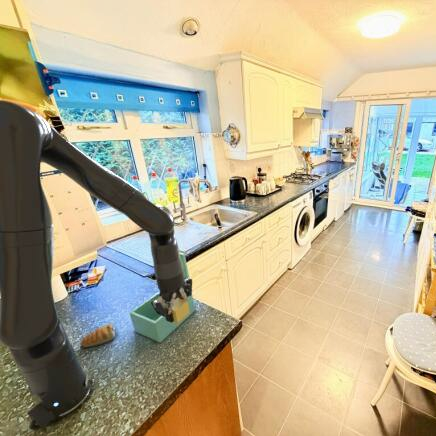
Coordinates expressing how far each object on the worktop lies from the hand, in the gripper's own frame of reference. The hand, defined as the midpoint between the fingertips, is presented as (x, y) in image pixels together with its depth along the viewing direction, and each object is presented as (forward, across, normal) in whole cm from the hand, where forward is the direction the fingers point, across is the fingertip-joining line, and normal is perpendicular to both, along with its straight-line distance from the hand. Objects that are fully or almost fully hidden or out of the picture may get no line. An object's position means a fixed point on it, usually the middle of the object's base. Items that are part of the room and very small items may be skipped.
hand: (177, 315), depth 77 cm
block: (0, 0, 0) cm, 0 cm away
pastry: (+13, +10, -28) cm, 32 cm away
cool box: (+13, -5, -14) cm, 20 cm away
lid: (-5, -13, -14) cm, 20 cm away
